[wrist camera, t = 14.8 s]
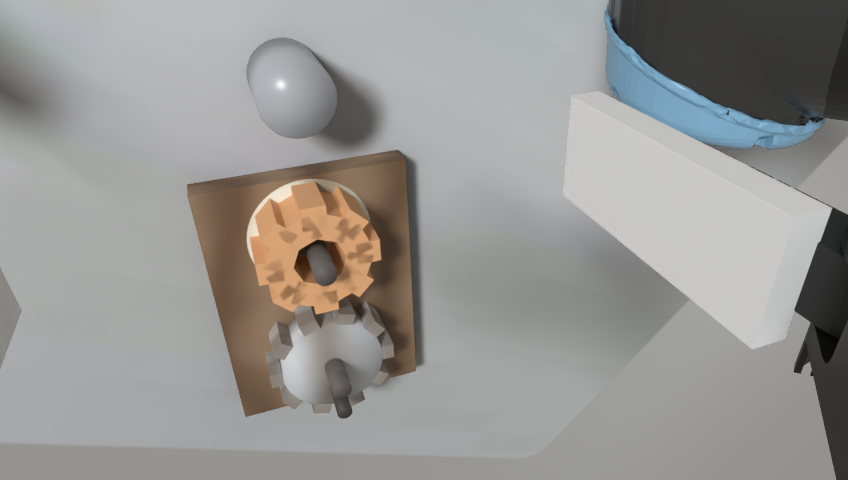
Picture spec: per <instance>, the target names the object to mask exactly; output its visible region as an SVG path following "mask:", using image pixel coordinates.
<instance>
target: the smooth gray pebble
mask: <svg viewBox="0 0 848 480" xmlns="http://www.w3.org/2000/svg"><path fill="white" fill-rule="evenodd" d="M247 80H248V84H249V87H250V90H251V93H252V95H253V98H254V101H255V104H256V107H257V109H258V112H259V115H260V117H261V118H262V120H263V122H264V123H265V124H266V125H267V126H268V127H269V128H270V129H271V130H272V131H274V132H275V133H277V134H279V135H281V136H284V137H288V138H296V139H299V138H306V137H310V136H313V135H315V134H317V133H318V132H320V131H321V130H323V129H324V128H325V127H326V126H327V125H328V124H329V123H330V121H331V120H332V118H333V116H334V114H335V111H336V108H337V101H338V98H337V90H336V87H335V84H334V82H333V80H332V78H331V77H330V75H329V74H328V73H327V71H326V70H325V69H324V68H323V66H322V65H321V64H320V62H319V61H318V60H317V59H316V57H315V56H314V55H313V54H312V52H311V51H310V50H309V49H308V48H307V47H306V46H304V45H303V44H302V43H300V42H298V41H295V40H293V39H288V38H276V39H272V40H269V41H267V42H264V43H263V44H261V45H260V46H259V47H258V48H257V49H256V50H255V51H254V52H253V54H252V55H251V57H250V59H249V62H248V66H247Z"/></svg>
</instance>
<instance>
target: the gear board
mask: <svg viewBox="0 0 848 480" xmlns="http://www.w3.org/2000/svg"><path fill="white" fill-rule="evenodd" d="M310 182H315V183H316V185H317V187H318V189H319V191H320V192H325V193H331V194H332V192H333V191H334V190H335V189H336V187H337V186H338V187H340V188H341V189H343V190H344V191H346V192H347V193H349V194H350V195H352V196H353V197H355V198H356V200H357V201H358V203H359V205H360V207H361V208H362V210H363V212H364V214H365V215H366V216H367V218H368V220H369V221H370V223H371V225H372V227H373V229H374V230H375V232H376V234H377V236H378V237H379V239H380V249H381V260H379V261H375V262H371V265H370V268H369V271H370V273H371V275H372V277H373V279H374V281H373V282H372V283H371V284H370V285H369V287H368V288H367V289H366V290H365V291H364V292H363V293H362V295H361V296H360V297H358V296H356V295H355V294H353V293H351V294H349V295H348V296H346V297H344V298H343V299H341V300H339V301H338V304H339V309H337V310H333V311H329V312H324V313H320V314H316V313H315V310H314V307H313V306H304V305H299V306H298V307H297V308H296V309H295V310H294V312H291V311H289V310H287V309H285V308H283V307H281V306H279V305H277V304H275V303H273V301H272V297H271V293H270V288H269V284H267V285H263V286H259V282H258V277H257V273H256V268H255V263H254V258H253V253H252V248H251V244H250V239H249V237H254V236H259V233H258V229H257V224H256V220H255V215H256V214H257V213H258V212H259V210H260V209H261V208H262V207H263V205H264V204H265V203H266V202H267V200H268V199H269V198H270V199H272V200H273V201H275V202H277V203H279V202H281V201H283V200H284V199H286V198H288V197H289V196H291V195H292V192H291V186H292V185H298V184H304V183H310ZM187 190H188V199H189V203H190V207H191V211H192V214H193V218H194V222H195V226H196V230H197V234H198V237H199V241H200V245H201V249H202V253H203V256H204V260H205V264H206V268H207V272H208V275H209V279H210V283H211V287H212V291H213V295H214V298H215V302H216V306H217V310H218V314H219V317H220V321H221V325H222V329H223V333H224V337H225V340H226V344H227V348H228V352H229V356H230V359H231V363H232V367H233V371H234V375H235V378H236V382H237V386H238V390H239V394H240V398H241V401H242V405H243V409H244V413H245V417H247V416H251V415H255V414H258V413H262V412H266V411H269V410H273V409H277V408H281V407H284V406H290V407H292V408H293V409H295V408H296V407H298V406H299V405H300V404H301V403H302V402H303V401H305V402H308V403H311V404H312V408H313V411H314V413H330V410H331V406H332V403H334V404H335V407H336V410H337V414H338V416H339V417H340V418H347V417H349V416H350V415H351V414H352V408H351V406H353V405H355V404H357V403H359V402H361V401H363V400H365V398H364V395H363V392H362V390H364V389H365V388H366V387H367V386H368V385H369V384H370V383H373V384H377V385H380V386H381V385H382V383H383V382H384V380H385V379H388V378H391V377H395V376H399V375H403V374H406V373H410V372H414V371H416V362H415V341H414V320H413V300H412V279H411V259H410V238H409V217H408V197H407V176H406V159H405V158H404V157H403V156H402V154H401V153H400V152H399V151H398V150H395V151H389V152H383V153H377V154H371V155H365V156H359V157H353V158H346V159H340V160H334V161H328V162H322V163H316V164H310V165H304V166H298V167H292V168H286V169H279V170H273V171H267V172H261V173H255V174H249V175H243V176H237V177H231V178H225V179H218V180H212V181H206V182H200V183H194V184H188V185H187ZM331 243H332V242H331V241H325V240H318V239H317V240H315V241H314V242H312V243H310V244H309V245H307V246H305V247H303V248H302V249H300V250H299V252H298V255H302V256H307V258H308V261H309V264H310V267H311V270H312V272H313V275H314V278H315V281H316V283H317V284H319V285H321V286H329V285H331V284H333V283H334V282H335V281H336V279H337V276H338V274H337V271H336V268H335V266H334V263H333V261H332V259H331V256H330V254H329V251H328V248H330V246H331Z"/></svg>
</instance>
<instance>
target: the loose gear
mask: <svg viewBox="0 0 848 480" xmlns="http://www.w3.org/2000/svg"><path fill="white" fill-rule="evenodd" d="M291 192H292V195H291V196H289V197H288V198H286V199H284V200H283V201H281V202H279V203H277V202H275V201H273V200H272V199H270V198H269V199H268V200H267V202H266V203H265V204H264V205H263V207H262V208H261V209H260V210H259V212H258V213H257V214H256V215H255V220H256V224H257V229H258V233H259V236H254V237H249V239H250V244H251V248H252V253H253V258H254V263H255V268H256V273H257V277H258V282H259V286H263V285H267V284H269V288H270V293H271V297H272V301H273V303H275V304H277V305H279V306H281V307H283V308H285V309H287V310H289V311H291V312H294V310H295V309H296V308H297V307H298V306H299V305H304V306H313V307H314V310H315V313H316V314H320V313H324V312H329V311H333V310H337V309H339V304H338V301H339V300H341V299H343V298H344V297H346V296H348V295H349V294H351V293H353V294H355V295H356V296H358V297H360V296H361V295H362V293H363V292H364V291H365V290H366V289H367V288H368V287H369V285H370V284H371V283H372V282H373V281H374V279H373V277H372V275H371V273H370V271H369V268H370V265H371V262H375V261H379V260H381V249H380V239H379V237H378V236H377V234H376V232H375V230H374V229H373V227H372V225H371V223H370V221H369V220H368V218H367V216H366V215H365V214H364V212H363V210H362V208H361V207H360V205H359V203H358V201H357V200H356V198H355V197H353V196H352V195H350V194H349V193H347V192H346V191H344V190H343V189H341V188H340V187H338V186H337V187H336V189H335V190H334V191H333V192H332V194H331V193H325V192H320V191H319V189H318V187H317V185H316V183H315V182H310V183H304V184H298V185H292V186H291ZM317 239H318V240H325V241H331V242H332V243H331V246H330V248H328V251H329V254H330V256H331V259H332V261H333V263H334V266H335V268H336V271H337V274H338V276H337V279H336V281H335V282H334V283H333V284H331V285H329V286H321V285H319V284H317V283H316V281H315V278H314V275H313V272H312V270H311V267H310V264H309V261H308V258H307V256H302V255H298V252H299V250H300V249H302V248H303V247H305V246H307V245H309V244H310V243H312V242H314V241H315V240H317Z"/></svg>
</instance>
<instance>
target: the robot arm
mask: <svg viewBox="0 0 848 480" xmlns="http://www.w3.org/2000/svg"><path fill="white" fill-rule="evenodd" d="M604 19H605V26H606V30H607V54H606V75H607V80H608V83H609V86H610V88H611V90H612V92H613V93H614V94H615V96H616V97H617V98H618V99H619V100H620V101H621V102H620V101H618V100H616V99H614V98H612V97H610V96H608V95H606V94H604V93H602V92H600V91H595V92H589V93H583V94H577V95H572V97H571V108H570V119H569V131H568V142H567V154H566V165H565V176H564V188H563V195H564V196H565V197H566V198H567V199H569V200H570V201H571V202H572V203H573V204H575V205H576V206H577V207H578V208H580V209H581V210H582V211H583V212H584V213H586V214H587V215H588V216H589V217H591V218H592V219H593V220H594V221H596V222H597V223H598V224H599V225H600V226H602V227H603V228H604V229H605V230H607V231H608V232H609V233H610V234H611V235H613V236H614V237H615V238H616V239H618V240H619V241H620V242H621V243H622V244H624V245H625V246H626V247H627V248H629V249H630V250H631V251H632V252H633V253H635V254H636V255H637V256H638V257H640V258H641V259H642V260H643V261H644V262H646V263H647V264H648V265H649V266H651V267H652V268H653V269H654V270H655V271H657V272H658V273H659V274H660V275H662V276H663V277H664V278H665V279H666V280H668V281H669V282H670V283H671V284H673V285H674V286H675V287H676V288H677V289H679V290H680V291H681V292H682V293H684V294H685V295H686V296H687V297H688V298H690V299H691V300H692V301H693V302H695V303H696V304H697V305H698V306H699V307H701V308H702V309H703V310H704V311H706V312H707V313H708V314H709V315H710V316H712V317H713V318H714V319H715V320H717V321H718V322H719V323H720V324H722V325H723V326H724V327H725V328H726V329H728V330H729V331H730V332H731V333H733V334H734V335H735V336H736V337H737V338H739V339H740V340H741V341H742V342H744V343H745V344H746V345H747V346H748V347H750V348H751V349H752V350H753V349H756V348H759V347H762V346H765V345H768V344H771V343H774V342H777V341H781V340H784V339H786V336H787V333H788V330H789V328H790V325H791V322H792V319H793V316H794V314H795V311H796V312H797V313H799V314H800V315H801V316H803V317H804V318H806V319H807V320H809V321H810V322H811V323H810V326H809V328H808V331H807V334H806V336H805V339H804V342H803V344H802V347H801V350H800V352H799V355H798V357H797V360H796V363H795V367H794V372H795V373H801V371H802V368H803V366H804V365H805V364H807V363H808V362H810V363H811V368H812V371H811V374H810V375H811V376H814V381H815V385H816V390H817V394H818V399H819V403H820V408H821V412H822V416H823V421H824V426H825V430H826V435H827V439H828V444H829V448H830V453H831V457H832V462H833V466H834V471H835V475H836V479H837V480H848V215H847V214H845V213H843V212H841V211H839V210H837V209H835V208H833V207H831V206H829V205H827V204H825V203H823V202H821V201H819V200H817V199H815V198H813V197H811V196H809V195H807V194H805V193H803V192H801V191H799V190H797V189H795V188H794V189H793V188H791V187H790V186H789V185H787V184H785V183H783V182H781V181H779V180H775V179H773V177H771V176H769V175H767V174H765V173H763V172H761V171H759V170H757V169H755V168H753V167H750V166H747V165H745V164H743V163H741V162H739V161H737V160H735V159H733V158H731V157H729V156H727V155H725V154H723V153H722V152H720V151H718V150H716V149H714V148H712V147H710V146H708V145H706V144H711V145H716V146H722V147H730V148H739V149H749V148H751V147H753V146H754V145H758V146H761V147H764V148H767V149H777V148H784V147H789V146H793V145H796V144H798V143H800V142H803V141H805V140H807V139H808V138H810V137H811V136H812V135H813V134H814V133H815V131H816V130H818V129H819V128H820V127H821V126H822V125H823V124H824V122H825V120H826V118H830V119H837V120H844V121H848V0H609V3H608V5H607V8H606V11H605V16H604ZM704 143H706V144H704ZM21 311H22V310H21V308H20V306H19V304H18V302H17V300H16V298H15V296H14V294H13V292H12V290H11V288H10V286H9V284H8V282H7V280H6V278H5V276H4V274H3V272H2V270H1V268H0V368H1V365H2V362H3V360H4V357H5V354H6V352H7V349H8V346H9V343H10V341H11V338H12V335H13V332H14V330H15V327H16V324H17V322H18V319H19V316H20V313H21Z"/></svg>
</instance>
